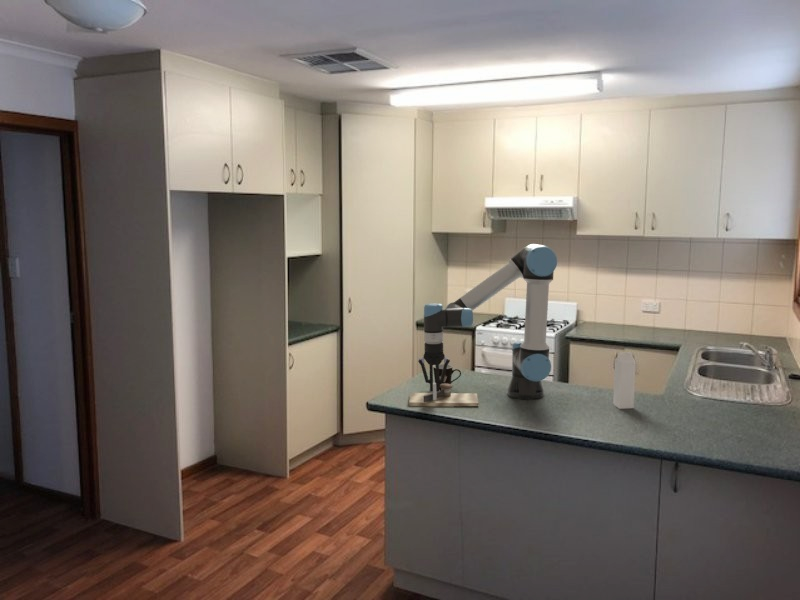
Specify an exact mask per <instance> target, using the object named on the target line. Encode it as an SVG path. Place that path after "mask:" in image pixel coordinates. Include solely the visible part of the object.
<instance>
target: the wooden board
mask: <svg viewBox="0 0 800 600" xmlns="http://www.w3.org/2000/svg"><path fill="white" fill-rule="evenodd" d="M431 393H432V392H411V393H410V396H409V401H408V406H409V407H454V406H478V407H479V399H478V398H479V397H478V393H476V392H475V393H471V392H470V393H467V392H466V393H465V392H464V393H461V392H460V393H459V392H456V393H455V392H451V396H442V397H439V398H437V400H431V401H428V402H424V396H425V395H428V394H431Z"/></svg>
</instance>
